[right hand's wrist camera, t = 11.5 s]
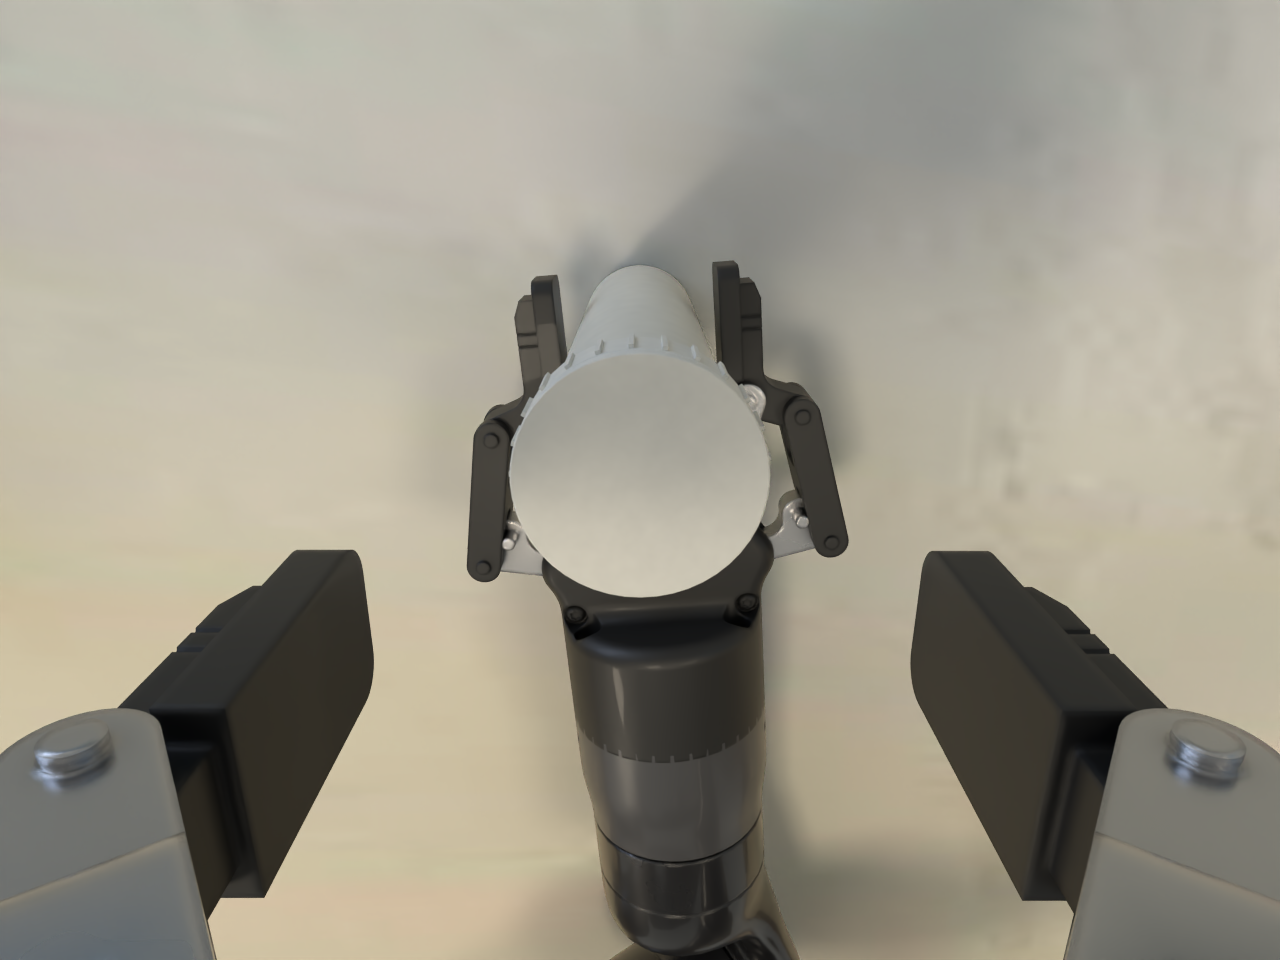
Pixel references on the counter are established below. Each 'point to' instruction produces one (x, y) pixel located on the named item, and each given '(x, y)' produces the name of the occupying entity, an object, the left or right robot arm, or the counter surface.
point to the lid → (639, 467)
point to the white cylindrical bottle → (640, 310)
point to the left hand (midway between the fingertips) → (633, 273)
